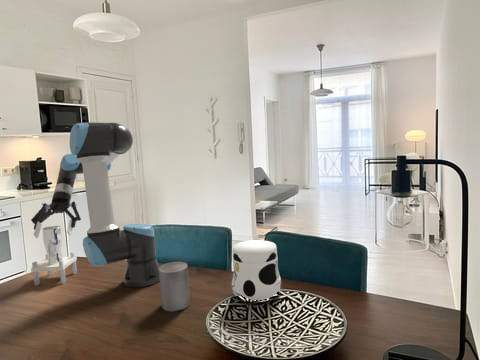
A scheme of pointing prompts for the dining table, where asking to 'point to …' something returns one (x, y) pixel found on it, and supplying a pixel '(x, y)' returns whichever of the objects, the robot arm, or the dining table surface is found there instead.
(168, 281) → the pillar candle
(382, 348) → the dining table surface
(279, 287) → the milk container
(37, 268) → the shelf stand
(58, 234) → the silver metal goblet
